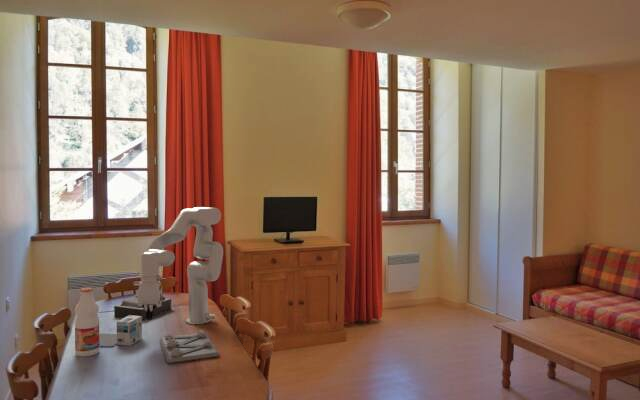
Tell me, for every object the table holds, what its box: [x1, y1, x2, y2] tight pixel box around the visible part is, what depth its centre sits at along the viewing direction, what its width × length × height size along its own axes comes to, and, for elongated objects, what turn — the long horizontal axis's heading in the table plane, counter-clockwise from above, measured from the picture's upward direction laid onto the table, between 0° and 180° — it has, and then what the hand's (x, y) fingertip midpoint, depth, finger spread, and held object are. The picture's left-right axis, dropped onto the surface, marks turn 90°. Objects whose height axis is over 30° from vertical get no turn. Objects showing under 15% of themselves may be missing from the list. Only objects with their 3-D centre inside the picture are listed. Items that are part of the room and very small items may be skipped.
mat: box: [99, 333, 118, 348], centre depth 223 cm, size 14×16×1 cm
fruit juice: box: [74, 286, 100, 358], centre depth 207 cm, size 9×9×28 cm
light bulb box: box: [116, 315, 143, 347], centre depth 222 cm, size 11×7×11 cm, turn 169°
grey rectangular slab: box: [159, 329, 221, 365], centre depth 213 cm, size 30×22×7 cm
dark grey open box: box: [113, 293, 172, 322], centre depth 268 cm, size 23×27×10 cm
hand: (149, 319), depth 221 cm, fingers closed
